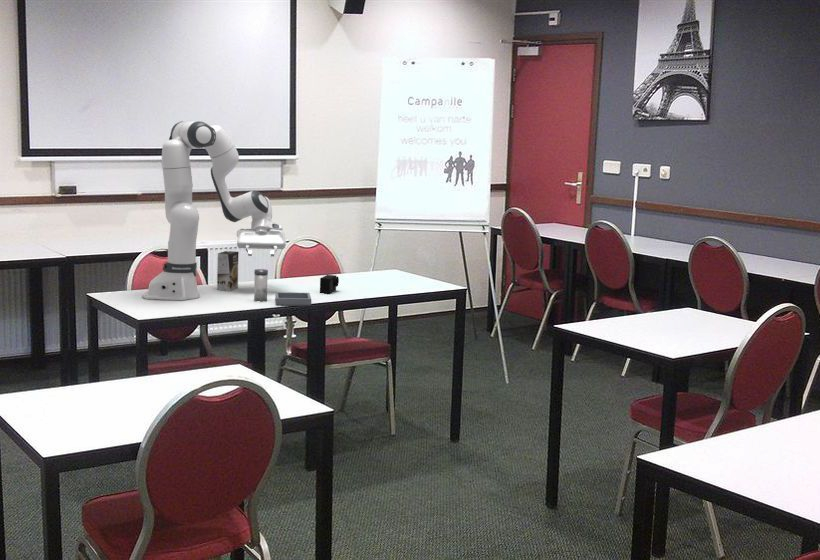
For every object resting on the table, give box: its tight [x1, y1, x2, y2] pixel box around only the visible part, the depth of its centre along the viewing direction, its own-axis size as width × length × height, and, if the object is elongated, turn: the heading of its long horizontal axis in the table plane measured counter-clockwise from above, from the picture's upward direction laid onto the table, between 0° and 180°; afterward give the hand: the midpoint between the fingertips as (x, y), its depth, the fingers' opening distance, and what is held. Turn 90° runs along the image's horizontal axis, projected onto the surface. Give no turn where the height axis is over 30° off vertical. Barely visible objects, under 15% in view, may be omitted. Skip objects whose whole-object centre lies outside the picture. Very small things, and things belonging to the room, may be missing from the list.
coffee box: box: [216, 250, 239, 292], centre depth 414 cm, size 9×6×16 cm
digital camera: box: [319, 274, 340, 295], centre depth 418 cm, size 10×5×7 cm, turn 168°
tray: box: [274, 291, 312, 307], centre depth 390 cm, size 14×14×3 cm
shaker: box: [253, 268, 269, 303], centre depth 391 cm, size 5×5×13 cm
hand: (261, 255), depth 401 cm, fingers open, 8 cm apart
